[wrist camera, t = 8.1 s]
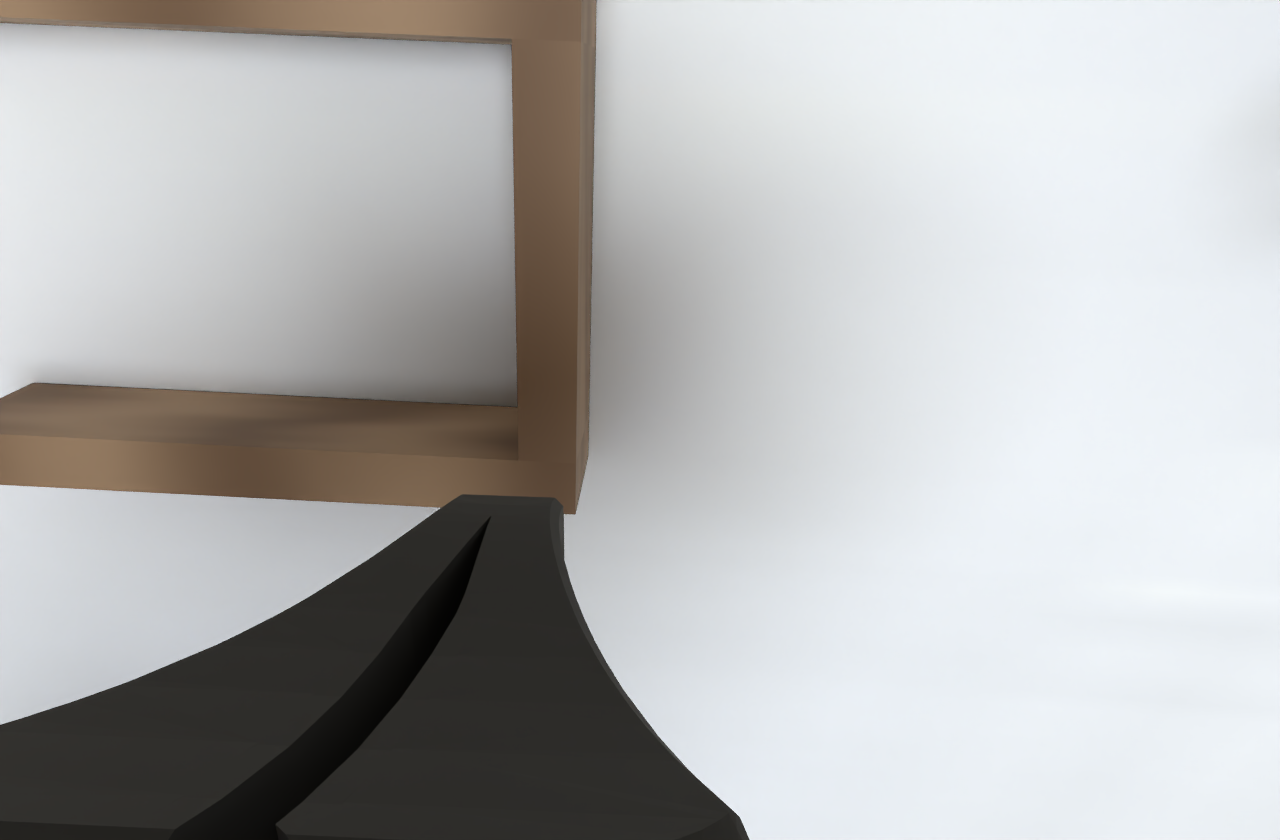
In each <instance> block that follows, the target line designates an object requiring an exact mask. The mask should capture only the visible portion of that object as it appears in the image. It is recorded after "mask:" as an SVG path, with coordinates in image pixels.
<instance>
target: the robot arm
mask: <svg viewBox="0 0 1280 840" xmlns="http://www.w3.org/2000/svg"><path fill="white" fill-rule="evenodd" d="M0 840H749V838H748V835H747V833H746V831H745V828H744V826H743V824H742V821H741V819H740V817H739V816H738V815H737V814H736V813H735V812H734V811H733V810H732V809H730V808H729V807H728V806H727V805H726V804H725V803H724V802H723V801H722V800H721V799H719V798H718V797H717V796H716V795H715V794H714V793H713V792H712V791H711V790H709V789H708V788H707V787H706V786H705V785H704V784H703V783H702V782H701V781H700V780H698V779H697V778H696V777H695V776H694V775H693V774H692V773H691V772H690V771H689V770H688V769H687V768H686V767H685V766H684V764H683V763H682V762H681V761H680V760H679V759H678V758H677V757H676V756H675V754H674V753H673V752H672V751H671V750H670V749H669V748H668V747H667V745H666V744H665V743H664V742H663V741H662V740H661V739H660V738H659V737H658V735H657V734H656V733H655V731H654V730H653V729H652V727H651V726H650V725H649V723H648V722H647V721H646V719H645V718H644V717H643V715H642V714H641V713H640V711H639V710H638V709H637V707H636V706H635V705H634V703H633V702H632V701H631V699H630V698H629V697H628V695H627V694H626V693H625V692H624V690H623V688H622V687H621V685H620V684H619V682H618V681H617V679H616V677H615V676H614V674H613V672H612V671H611V669H610V668H609V666H608V664H607V663H606V661H605V659H604V657H603V655H602V654H601V652H600V650H599V648H598V646H597V644H596V643H595V641H594V639H593V636H592V634H591V632H590V630H589V628H588V626H587V624H586V621H585V619H584V617H583V614H582V612H581V609H580V607H579V604H578V602H577V600H576V597H575V594H574V591H573V588H572V585H571V583H570V579H569V575H568V572H567V568H566V565H565V561H564V511H563V505H562V504H561V503H560V502H559V501H558V500H557V499H556V498H553V497H526V496H498V495H470V494H462V495H460V496H458V497H457V498H455V499H453V500H452V501H450V502H449V503H447V504H446V505H445V506H443V507H442V508H440V509H439V510H438V511H436V512H435V513H433V514H432V515H431V516H429V517H428V518H426V519H425V520H424V521H422V522H421V523H420V524H418V525H417V526H415V527H414V528H413V529H411V530H410V531H408V532H407V533H406V534H404V535H403V536H401V537H400V538H399V539H397V540H396V541H394V542H393V543H391V544H390V545H389V546H387V547H386V548H384V549H383V550H382V551H380V552H379V553H377V554H376V555H374V556H373V557H372V558H370V559H369V560H367V561H365V562H364V563H362V564H361V565H359V566H357V567H356V568H354V569H353V570H351V571H350V572H348V573H346V574H345V575H343V576H342V577H340V578H338V579H337V580H335V581H334V582H332V583H331V584H329V585H327V586H326V587H324V588H323V589H321V590H319V591H318V592H316V593H315V594H313V595H312V596H310V597H308V598H306V599H305V600H303V601H301V602H299V603H298V604H296V605H294V606H292V607H291V608H289V609H287V610H285V611H283V612H281V613H280V614H278V615H276V616H274V617H272V618H270V619H268V620H266V621H264V622H262V623H260V624H258V625H256V626H254V627H252V628H250V629H248V630H246V631H244V632H242V633H240V634H238V635H236V636H234V637H232V638H230V639H228V640H226V641H224V642H222V643H220V644H218V645H215V646H213V647H211V648H208V649H206V650H203V651H201V652H199V653H196V654H194V655H192V656H189V657H187V658H184V659H182V660H180V661H177V662H175V663H172V664H170V665H168V666H165V667H163V668H161V669H158V670H156V671H153V672H151V673H149V674H146V675H144V676H142V677H139V678H137V679H134V680H132V681H129V682H127V683H124V684H121V685H119V686H116V687H113V688H110V689H107V690H105V691H102V692H99V693H96V694H93V695H91V696H88V697H85V698H82V699H79V700H77V701H74V702H71V703H68V704H65V705H61V706H58V707H55V708H52V709H49V710H46V711H43V712H40V713H37V714H34V715H31V716H28V717H25V718H22V719H18V720H15V721H12V722H9V723H5V724H2V725H0Z"/></svg>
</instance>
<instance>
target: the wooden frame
mask: <svg viewBox="0 0 1280 840" xmlns="http://www.w3.org/2000/svg"><path fill="white" fill-rule="evenodd" d="M0 23H16V24H40V25H64V26H87V27H111V28H135V29H158V30H182V31H205V32H229V33H253V34H276V35H300V36H323V37H347V38H371V39H394V40H418V41H442V42H465V43H489V44H512V102H513V162H514V222H515V282H516V343H517V403H518V407H504V406H484V405H464V404H443V403H423V402H403V401H383V400H363V399H343V398H323V397H303V396H283V395H263V394H242V393H222V392H202V391H182V390H162V389H142V388H122V387H102V386H82V385H61V384H41V383H32V384H30V385H28V386H26V387H23V388H21V389H19V390H17V391H15V392H13V393H11V394H9V395H6V396H4V397H2V398H0V485H17V486H36V487H56V488H75V489H94V490H113V491H133V492H152V493H171V494H191V495H210V496H229V497H248V498H268V499H287V500H306V501H326V502H345V503H364V504H383V505H403V506H422V507H441V508H442V507H443V506H445V505H446V504H447V503H449V502H450V501H452V500H453V499H455V498H457V497H458V496H460V495H462V494H470V495H498V496H526V497H553V498H556V499H557V500H558V501H559V502H560V503H561V504H562V505H563V511H564V514H576V509H577V505H578V500H579V496H580V491H581V487H582V482H583V478H584V473H585V469H586V464H587V459H588V443H589V388H590V332H591V277H592V222H593V166H594V111H595V56H596V0H0Z"/></svg>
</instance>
